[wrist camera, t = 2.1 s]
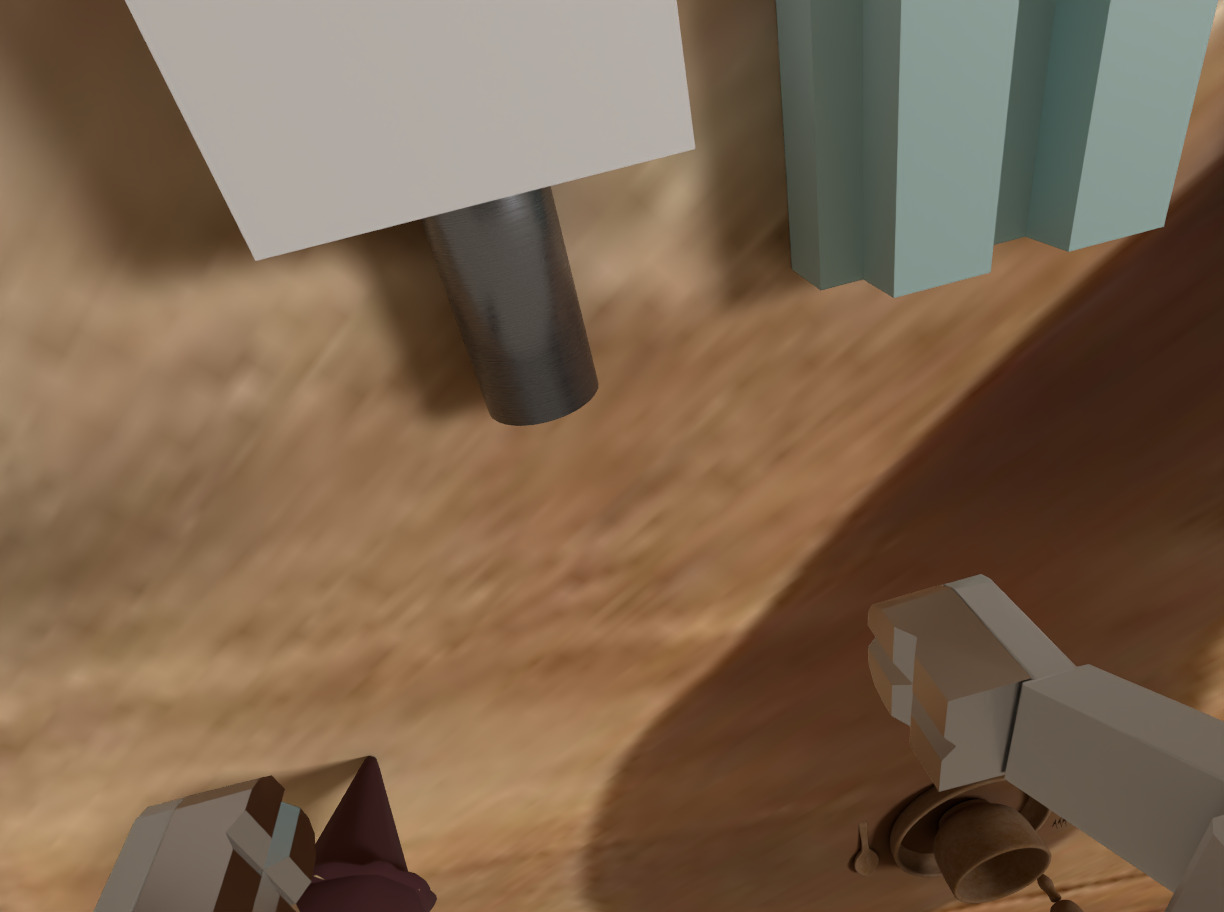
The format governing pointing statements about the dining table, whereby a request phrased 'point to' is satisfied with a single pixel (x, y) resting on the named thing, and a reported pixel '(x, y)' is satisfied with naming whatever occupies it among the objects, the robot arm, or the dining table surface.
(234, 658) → the dining table surface
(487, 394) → the axle
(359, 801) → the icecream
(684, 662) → the dining table surface
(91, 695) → the dining table surface
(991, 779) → the place setting
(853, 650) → the dining table surface
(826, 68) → the v block
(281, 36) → the white notched block
